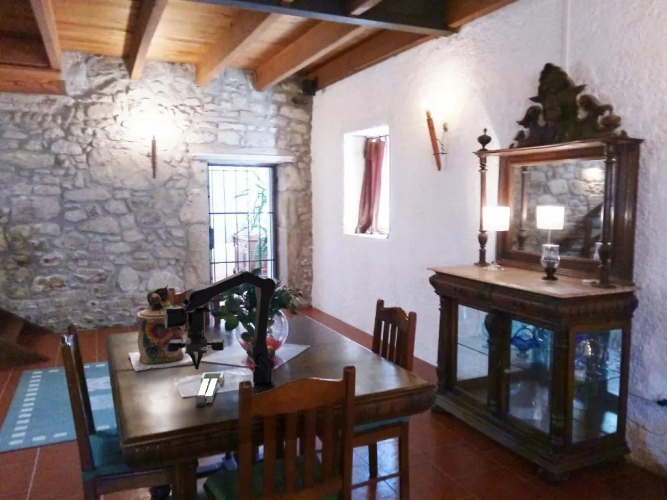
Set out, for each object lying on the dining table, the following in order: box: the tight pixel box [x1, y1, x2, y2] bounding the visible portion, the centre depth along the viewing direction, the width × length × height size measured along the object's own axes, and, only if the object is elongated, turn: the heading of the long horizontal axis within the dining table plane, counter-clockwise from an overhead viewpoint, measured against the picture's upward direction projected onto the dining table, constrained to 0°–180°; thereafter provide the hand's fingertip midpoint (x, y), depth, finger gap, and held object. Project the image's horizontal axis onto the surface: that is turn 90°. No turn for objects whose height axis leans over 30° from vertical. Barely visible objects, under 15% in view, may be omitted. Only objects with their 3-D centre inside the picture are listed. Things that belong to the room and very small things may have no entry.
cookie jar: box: [128, 283, 194, 372], centre depth 222 cm, size 25×25×32 cm
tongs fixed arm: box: [205, 379, 219, 404], centre depth 185 cm, size 2×16×2 cm, turn 6°
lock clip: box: [200, 371, 225, 386], centre depth 197 cm, size 8×6×2 cm
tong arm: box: [195, 379, 210, 407], centre depth 183 cm, size 3×20×3 cm, turn 7°
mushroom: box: [267, 345, 276, 361], centre depth 224 cm, size 8×8×6 cm
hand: (197, 369), depth 185 cm, fingers closed
